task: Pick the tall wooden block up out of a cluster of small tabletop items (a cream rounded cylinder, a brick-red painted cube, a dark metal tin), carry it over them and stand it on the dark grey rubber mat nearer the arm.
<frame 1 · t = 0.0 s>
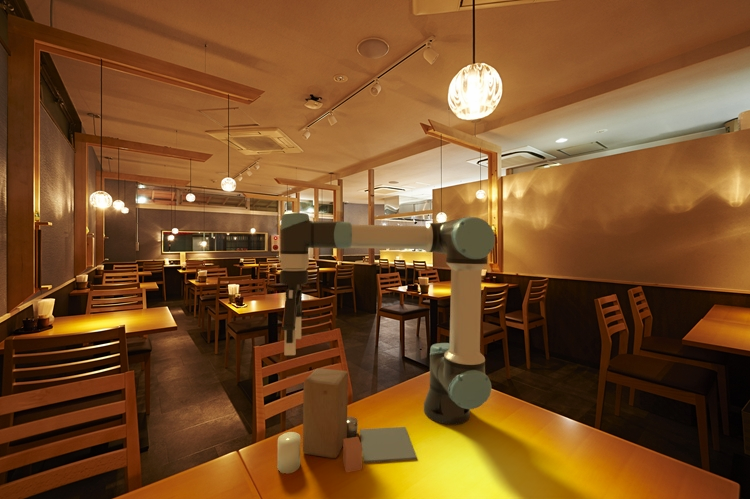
hand: (293, 346, 88), 28 cm above the table, fingers open, 13 cm apart
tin: (349, 434, 95), on the table
mat: (386, 444, 90), on the table
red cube: (352, 465, 82), on the table
wooden block: (325, 446, 89), on the table
cream rounded cylinder: (288, 465, 81), on the table
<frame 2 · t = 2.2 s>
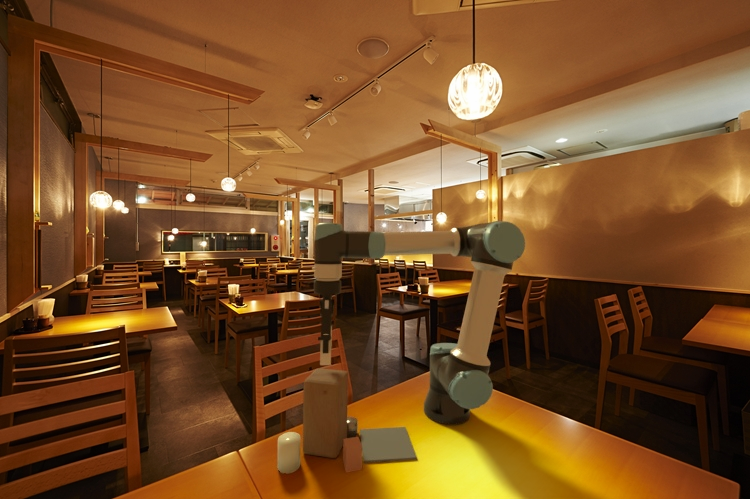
hand: (326, 355, 89), 25 cm above the table, fingers open, 13 cm apart
nothing on the table moved.
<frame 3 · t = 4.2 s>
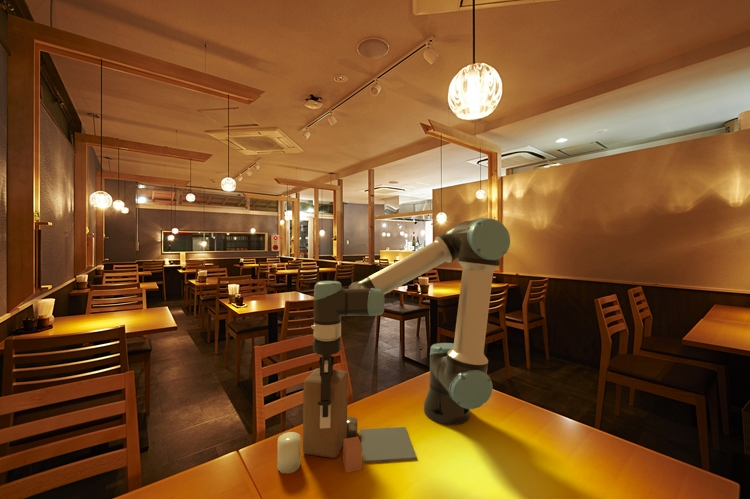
hand: (325, 414, 89), 9 cm above the table, fingers closed on wooden block, 11 cm apart
wooden block: (325, 446, 89), on the table, touching gripper
everything else where it was.
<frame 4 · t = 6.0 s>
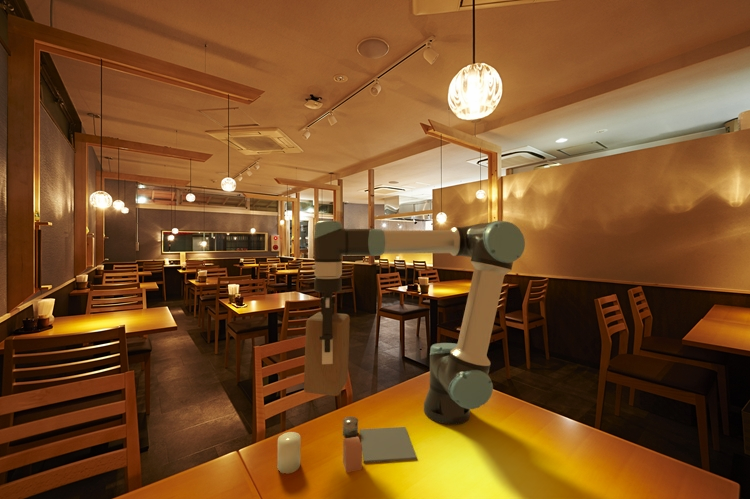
hand: (327, 355, 89), 25 cm above the table, fingers closed on wooden block, 11 cm apart
wooden block: (326, 388, 89), point 16 cm above the table, touching gripper
everything else where it was.
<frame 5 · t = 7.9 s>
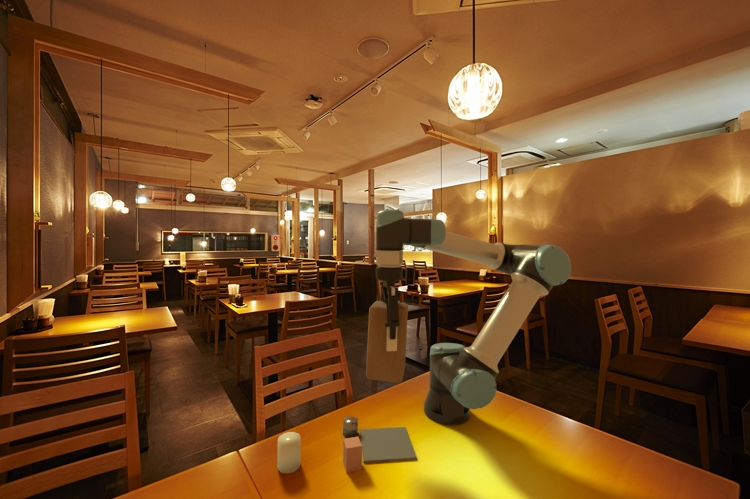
hand: (387, 343, 90), 29 cm above the table, fingers closed on wooden block, 11 cm apart
wooden block: (385, 375, 90), point 20 cm above the table, touching gripper
everything else where it was.
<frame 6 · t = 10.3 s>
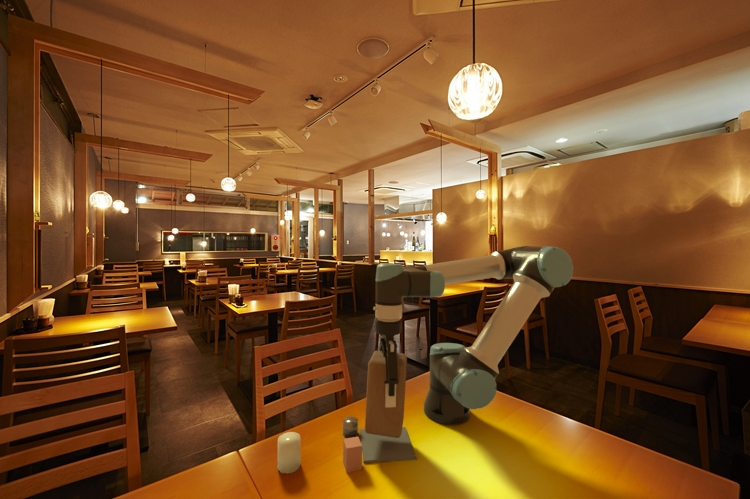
hand: (386, 395, 90), 14 cm above the table, fingers closed on wooden block, 11 cm apart
wooden block: (384, 427, 90), point 5 cm above the table, touching gripper
everything else where it was.
when the fingers open (10 cm above the table, at t = 11.8 s): wooden block stays where it is, resting on mat.
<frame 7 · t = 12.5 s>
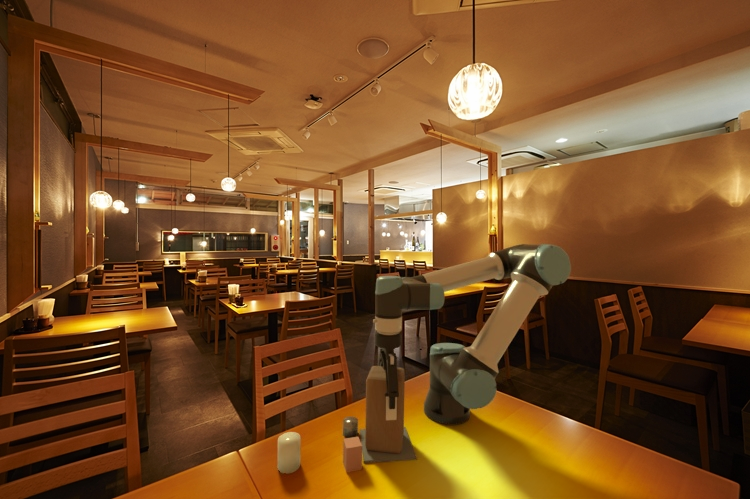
hand: (386, 406, 90), 11 cm above the table, fingers open, 13 cm apart
wooden block: (385, 442, 90), resting on mat
everything else where it was.
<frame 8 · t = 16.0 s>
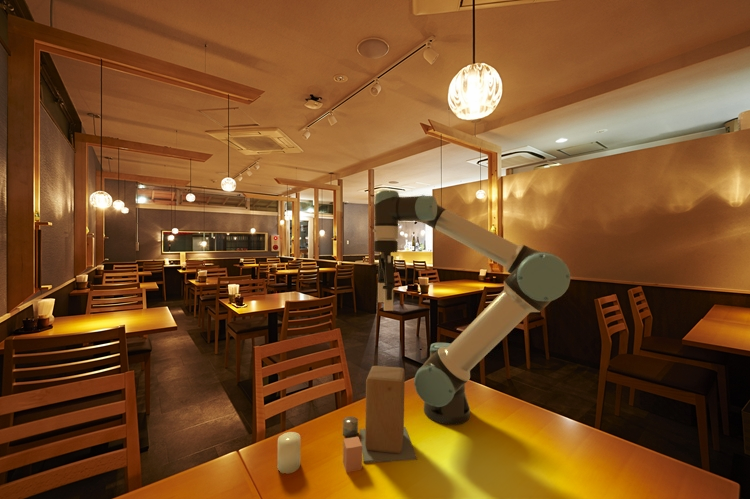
hand: (384, 306, 103), 37 cm above the table, fingers open, 13 cm apart
nothing on the table moved.
at the end: wooden block inside the target area on the mat (0.3 cm from its centre), point 0.4 cm above the mat's base; wooden block tilted 0°; the gripper is holding nothing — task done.
